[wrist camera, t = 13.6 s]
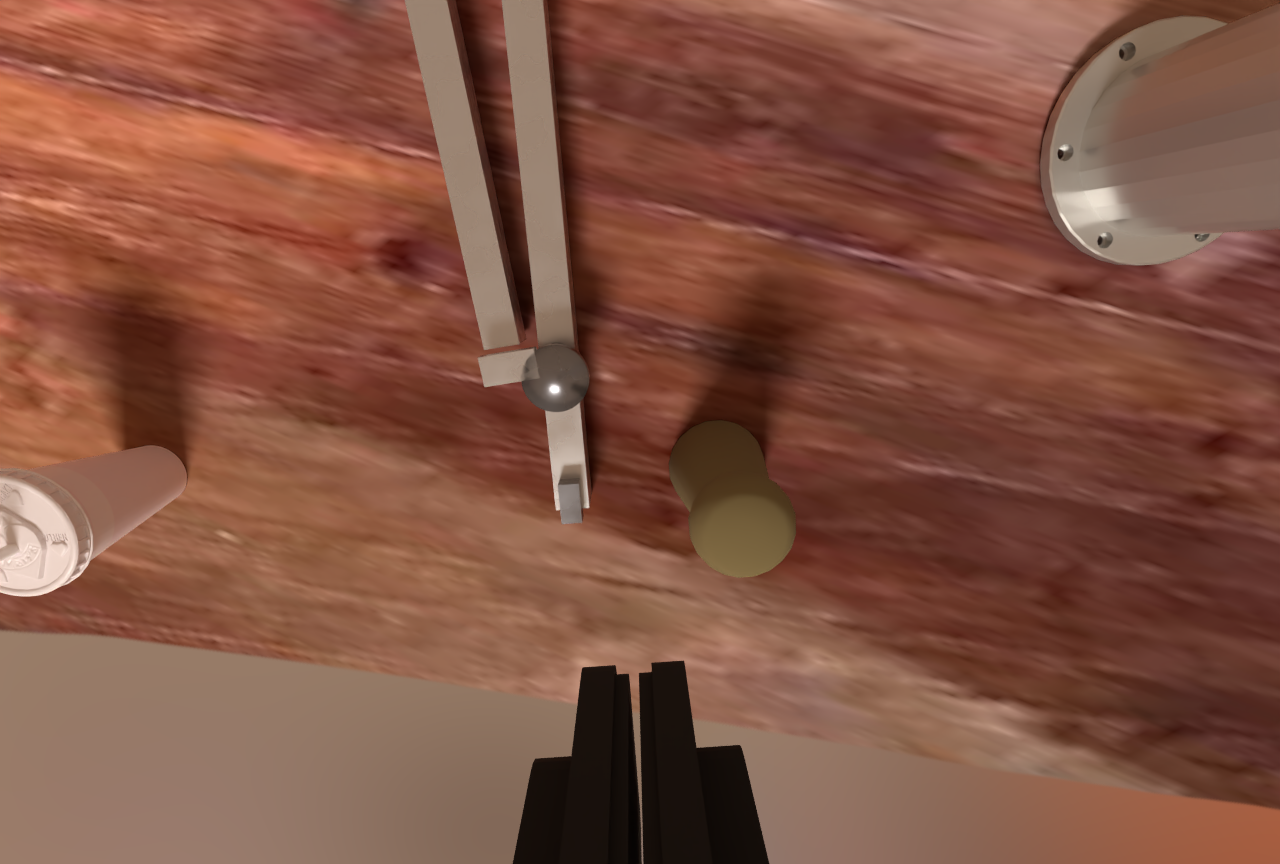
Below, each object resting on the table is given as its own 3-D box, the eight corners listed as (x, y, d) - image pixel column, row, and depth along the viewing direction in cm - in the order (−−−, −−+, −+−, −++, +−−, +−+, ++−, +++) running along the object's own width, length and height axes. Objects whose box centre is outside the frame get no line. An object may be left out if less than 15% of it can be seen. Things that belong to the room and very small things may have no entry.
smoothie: (144, 536, 40) (-102, 672, 27) (82, 449, 39) (-213, 547, 25) (229, 496, 40) (21, 615, 26) (169, 407, 38) (-85, 483, 25)
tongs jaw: (514, -64, 32) (498, -111, 28) (598, 391, 38) (594, 406, 34) (406, -44, 32) (375, -88, 28) (507, 406, 38) (492, 423, 34)
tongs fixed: (546, -59, 32) (536, -99, 29) (595, 499, 40) (592, 521, 37) (499, -56, 32) (484, -95, 29) (558, 502, 40) (551, 524, 37)
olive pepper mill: (650, 452, 39) (658, 520, 29) (733, 401, 39) (773, 452, 28) (699, 527, 41) (724, 619, 30) (781, 480, 40) (836, 556, 29)
